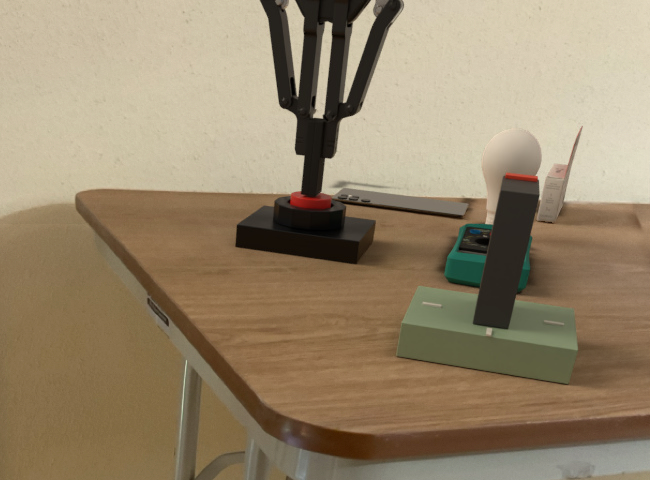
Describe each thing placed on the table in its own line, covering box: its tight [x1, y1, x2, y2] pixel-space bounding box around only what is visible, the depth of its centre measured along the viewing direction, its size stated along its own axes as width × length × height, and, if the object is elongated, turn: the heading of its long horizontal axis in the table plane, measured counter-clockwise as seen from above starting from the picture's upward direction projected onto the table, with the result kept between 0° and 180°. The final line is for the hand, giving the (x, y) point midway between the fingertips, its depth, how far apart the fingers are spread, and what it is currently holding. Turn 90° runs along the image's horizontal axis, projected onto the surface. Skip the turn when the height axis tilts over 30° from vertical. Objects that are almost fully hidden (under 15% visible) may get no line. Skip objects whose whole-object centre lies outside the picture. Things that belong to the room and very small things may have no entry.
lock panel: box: [395, 285, 579, 385], centre depth 65 cm, size 12×10×3 cm
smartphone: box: [331, 187, 469, 219], centre depth 109 cm, size 8×1×16 cm
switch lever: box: [473, 173, 541, 329], centre depth 62 cm, size 6×2×9 cm, turn 164°
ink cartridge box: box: [536, 125, 584, 224], centre depth 108 cm, size 2×11×10 cm, turn 159°
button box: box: [234, 195, 377, 265], centre depth 88 cm, size 12×10×4 cm
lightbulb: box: [481, 127, 543, 224], centre depth 95 cm, size 6×6×11 cm
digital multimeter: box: [443, 223, 534, 293], centre depth 84 cm, size 7×15×3 cm, turn 163°
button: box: [290, 190, 333, 209], centre depth 87 cm, size 4×4×2 cm
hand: (311, 192), depth 86 cm, fingers closed
